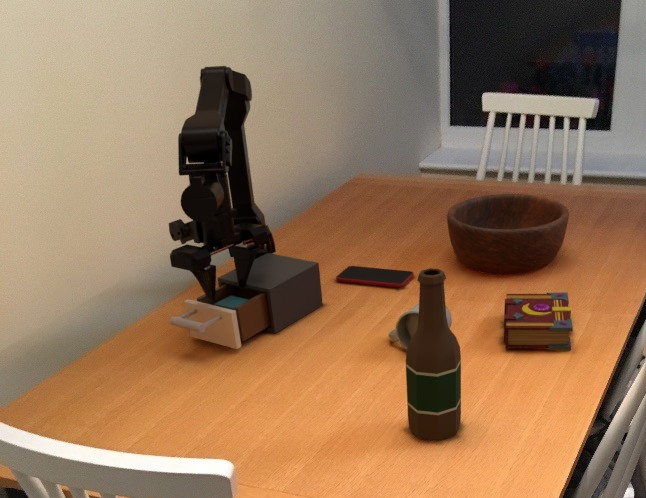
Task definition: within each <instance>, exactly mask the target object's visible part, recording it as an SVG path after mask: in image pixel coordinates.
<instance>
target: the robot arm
mask: <svg viewBox="0 0 646 498" xmlns="http://www.w3.org/2000/svg"><path fill="white" fill-rule="evenodd" d="M199 75H200V76H199V84H200V86H199V87H200V88H199V91H198V98H197V102H196V107H195V111H194V113H193V114H192V115H190V116H189V117H187V118H186V119H185V120H184V122H183V125H182V127H181V130H180V133H179V132H178V138H177V143H178V144H177V146H178V147H177V149H178V150H177V152H178V153H177V155H178V175H179V176H181V177H182V176H188V181H189V183H188V185H187V186H186V187H185V189H183V191H182V194H181V196H180V207H181V210H182V212H183V213H184V214H185V215H186V216H187V218H189V219H191V221H188V222H184V220H182V219H181V218H179V219H175V220H173V221H170V222H169V223H168V231H169V235H170V237H171V239H172V241H173V242H178V241H179V242H180V244H181V245H183V246H179V247H176V248H174V249H172V250H171V252H170V254H169V259H170V261H169V262H170V266H171V268H175V269H180V270H184V271H189V273H190V272H191V274H192V275H193V276H194V278H195V279H196V280H197V283H198V284H199V286H200V288H201V289H202V291H203V293H204V294H206V296H207V298H208V300H209V301H214V300H215V292H216V288H217V287H216V286H217V284H216V283H217V265H215V264H211V263H212V256H214V255H216V254H218V253H221V252H223V251H225V250H228V253H229V257H230V258H233V262H234V267H235V268H234V269H236V274H237V279H238V283H239V286H240V287H245V285H246V282H247V279H248V276H249V273H250V270H251V267H252V265H253V262H254V260H255V259H257V258H259V257H261V256H263V255H265V254H267V253H271V254H275V253H276V252H277V250H276V243H275V238H274V236H273V232H272V231H271V230H270V227H269V225H268V224H267V223H266V218H265V214H264V213H263V212H262V210H261V208H259V206H258V205H257V204H256V202H255V196H254V188H253V182H252V175H251V165H250V157H249V151H248V144H247V136H246V128H245V123H246V121H247V118H248V116H249V113H250V110H251V102H252V99H253V91H252V84H251V81H250V79H249V77H248V76H247V74H245V73H241V72H239V71H236V70H234V69H232V67H230V66H227V65H213V66H204V68H201V69H200V74H199ZM191 241H193V243H194V244H202V246H197V245H192V244H187V242H191Z"/></svg>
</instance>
